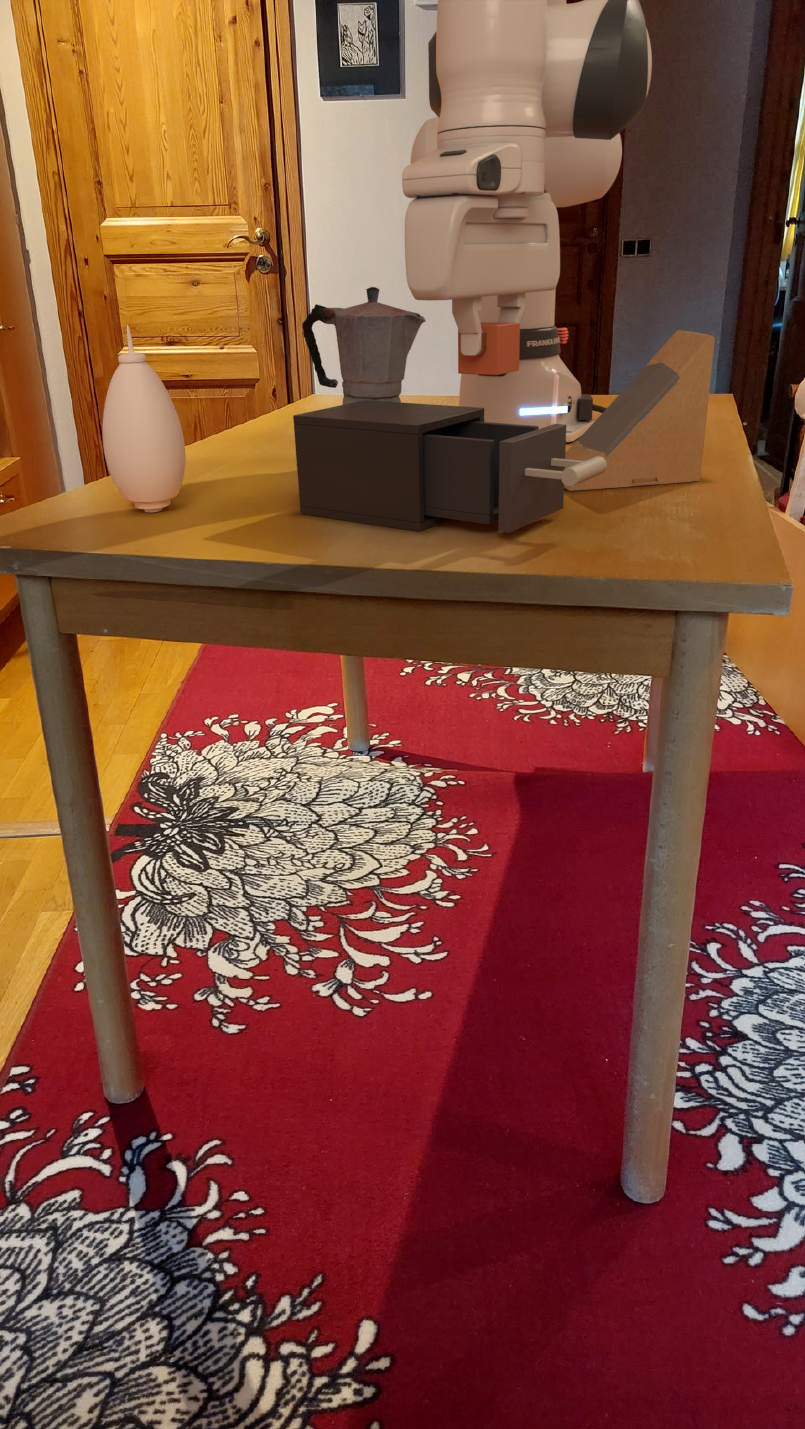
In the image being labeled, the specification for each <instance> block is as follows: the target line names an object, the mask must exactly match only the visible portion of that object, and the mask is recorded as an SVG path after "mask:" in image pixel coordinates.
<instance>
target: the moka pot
mask: <svg viewBox="0 0 805 1429" xmlns="http://www.w3.org/2000/svg"><path fill="white" fill-rule="evenodd" d="M365 290H366V298H367V302H363V303H360V304H355V305H352V306H348V307H344V308H343V307H327V306H324V305H320V304H318V303H316V304H315V305H314V307H313V308H312V309H311V312H310V313H308V314H307V315H306V317H305V319H304V321H303V322H302V324H301V325H302V326H301V327H302V335H303V337H304V340H305V343H306V346H307V348H308V351H309V356H310V357H311V361H312V364H313V365H314V366H313V367H314V371H315V373H316V377H317V380H318V383H319V385H320V386H322V387H326V388H331V389H332V388H333V389H337V386H338V384H339V381H338V380H337V379H335V378H332V379H331V378H328V377H327V374H326V371H325V369H324V366H323V362H322V358H321V352H320V350H319V347H318V344H317V339H316V337H315V333H314V331H313V326H314V324H315V323H316V322H319V321H320V322H321V323H323V324H325V325H333V326H334V328H335V334H336V342H337V350H338V361H339V367H340V368H339V369H340V376H341V379H342V382H341V387H342V394H343V398H342V404H341V405H345V404H349V403H354V402H359V401H363V400H371V401H386V402H402V401H401V400H402V399H401V397H400V395H401V394H402V381H403V380H404V379H405V374H406V367H407V360H408V355H409V353H410V351H411V350H412V346H413V344H414V342H415V339H416V337H417V334H418V333H419V330H420V328H421V326H422V324H424V323H426V322H427V320H426V318H425V317H424V315H423V316H422V315H421V314H420V313H418V312H413V311H410V310H405V309H402V308H399V307H395V306H392V305H388V304H384V303H382V302H379V301H378V300H379V294H380V288H379V287H375V286H369V287H368V288H366V289H365Z"/></svg>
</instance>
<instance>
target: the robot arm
mask: <svg viewBox="0 0 805 1429" xmlns="http://www.w3.org/2000/svg"><path fill="white" fill-rule="evenodd" d="M436 12H437V13H436V31H435V32H434V34H433V35H432V36H431V38H430V40H429V41H428V44H427V46H428V48H427V49H428V50H427V51H428V102H429V107H430V109H431V111H432V112H433V113H434V114H435V115H436V116H435V117H432V118H428V119H427V120H425V122H424V123H423V124H422V125H421V127H420V128H419V130H418V132H417V133H416V136H415V138H414V140H413V144H412V147H411V152H410V163H409V164H407V166H405V167H404V168H403V170H402V174H401V185H402V186H401V187H402V194H403V195H404V196H405V197H406V198H408V199H412V200H411V201H410V202H409V204H408V206H407V208H406V211H405V217H404V257H405V258H404V261H405V276H406V284H407V286H408V289H409V291H410V293H411V295H412V297H413V298H414V299H415V300H416V301H449V300H451V313H452V317H453V318H454V322H455V324H456V327H457V331H458V330H459V332H460V333H461V353H462V354H463V355H471V356H475V355H480V354H484V353H485V352H486V347H487V345H486V342H487V333H485V332H482V328H481V324H480V323H481V322H493V323H520V348H519V371H515V372H510V373H505V374H500V375H480V374H460V380H459V382H460V383H459V393H458V406H462V407H477V408H484V422H490V423H503V424H517V425H530V426H539V429H541V428H544V427H547V426H550V425H553V424H565V425H567V426H566V443H571V442H575V441H577V440H578V439H579V438H580V437H581V436H582V435H583V434H584V433H585V431H586V430H587V429H588V428H589V427H590V426H591V425H592V424H593V423H594V422H595V421H596V420H597V418H594V417H593V412H597V413H600V414H602V413H603V412H604V411H605V410H606V409H607V408H608V407H604V406H603V405H602V406H601V405H598V404H595V403H594V399H593V397H592V395H591V393H590V394H587V393H585V394H583V393H582V387H581V383H580V382H579V381H578V380H577V378H576V377H575V376H574V374H573V373H572V372H571V371H570V370H569V368H568V367H567V366H566V364H565V362H564V361H563V360H562V359H561V357H560V354H561V352H562V351H561V344H567V343H568V340H569V331H568V328H567V327H557V326H556V325H555V320H556V319H555V317H556V316H555V315H556V290H557V285H558V283H559V279H560V275H561V241H560V240H561V239H560V238H561V237H560V223H559V222H560V220H559V214H558V209H557V208H568V207H572V206H576V205H581V204H584V203H588V202H592V201H595V200H599V199H602V198H603V197H604V196H605V195H606V194H607V192H608V191H609V190H610V189H611V187H612V186H613V184H614V183H615V181H616V178H617V176H618V174H619V171H620V168H621V163H622V158H623V157H622V156H623V144H622V137H621V134H620V133H621V132H623V130H625V129H626V128H627V127H628V126H629V125H630V124H631V123H633V122H634V121H635V119H636V118H637V117H638V116H639V115H640V114H641V113H642V112H643V110H644V108H645V106H646V101H647V97H648V94H649V90H650V85H651V81H652V69H653V67H652V66H653V55H652V53H653V52H652V46H651V40H650V34H649V32H648V28H647V25H646V19H645V15H644V11H643V8H642V6H641V2H640V0H581V1H578V2H573V3H567V0H437V10H436Z"/></svg>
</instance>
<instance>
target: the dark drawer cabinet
mask: <svg viewBox="0 0 805 1429" xmlns="http://www.w3.org/2000/svg"><path fill="white" fill-rule="evenodd" d="M292 419H293V432H294V444H295V445H294V446H295V447H294V448H295V457H296V458H295V460H296V472H297V474H296V475H297V485H298V498H299V512H300V513H299V514H301V515H307V516H312V517H313V516H314V517H321V518H325V519H326V518H328V519H334V520H340V521H345V522H346V521H347V522H352V523H361V524H365V525H374V526H378V527H379V526H381V527H387V528H394V529H400V530H406V531H414V532H422V531H425V530H428V529H430V528H432V527H435V526H438V525H440V524H442V523H445V522H448V521H449V520H451V519H447V518H440V517H433V516H426V515H424V480H423V434H422V433H425V432H429V431H432V430H436V429H439V428H443V427H447V426H450V425H454V424H458V423H461V422H465V421H476V422H484V408H477V407H462V406H459V405H448V404H447V405H446V404H432V403H431V404H429V403H416V402H415V403H414V402H402V401H401V402H386V401H371V400H363V401H359V402H354V403H349V404H345V405H342V404H341V405H336V406H331V407H327V408H322V409H316V410H311V411H308V412H303V413H298V414H294V415H293V417H292Z"/></svg>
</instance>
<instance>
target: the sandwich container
mask: <svg viewBox="0 0 805 1429" xmlns="http://www.w3.org/2000/svg"><path fill="white" fill-rule="evenodd" d="M715 341H716V340H715V337H714V335H711V334H706V333H702V332H697V331H689V330H682V329H677V330H676V331H674V333H673V334H672V335H671V336H670V338H669V339H668V340H667V341H666V342H665V343H664V344H663V346H662V347H661V348H660V349H659V350H658V351H657V352H656V353H655V354H654V356H653V357H652V358H651V359H650V360H649V361H648V362H647V364H646V365H644V367H643V368H642V369H641V370H640V371H639V372H638V374H637V375H636V376H635V377H634V378H633V379H632V380H631V381H630V383H629V384H627V386H626V387H625V388H624V389H623V390H622V391H621V392H620V393H619V395H617V396H616V398H615V399H614V400H613V401H612V402H611V403H610V404H609V405H608V406H607V407H606V408H607V409H606V410H605V411H604V412H603V413H600V415H599V416H598V417H597V418H596V419H597V420H596V421H595V422H594V423H593V424H592V425H591V426H590V427H589V428H588V429H587V430H586V431H585V433H584V434H583V435H582V436H580V437H579V438H577V439H576V440H575V441H574V443H573V445H571V446H570V447H569V449H568V450H566V451H565V459H569V460H579V461H586V460H589V459H591V458H594V457H596V456H600V457H603V458H604V459H605V460H606V463H607V468H606V470H605V472H604V473H602V474H600V475H598V476H595V477H593V478H591V479H588V480H586V481H584V482H581V483H579V484H577V485H574V486H572V487H568V486H565V485H564V490H565V489H566V490H567V491H569V492H570V491H571V492H572V491H586V490H587V491H588V490H601V489H615V488H628V487H629V488H630V487H639V486H650V485H651V486H652V485H669V484H676V483H677V484H678V483H688V482H699V481H701V473H702V466H703V454H704V448H705V447H704V446H705V437H706V436H705V435H706V427H707V420H708V419H707V418H708V411H709V410H708V409H709V401H710V400H709V397H710V388H711V382H712V381H711V380H712V372H713V370H712V369H713V360H714V352H715V343H716V342H715ZM566 468H568V467H565V469H566Z"/></svg>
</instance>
